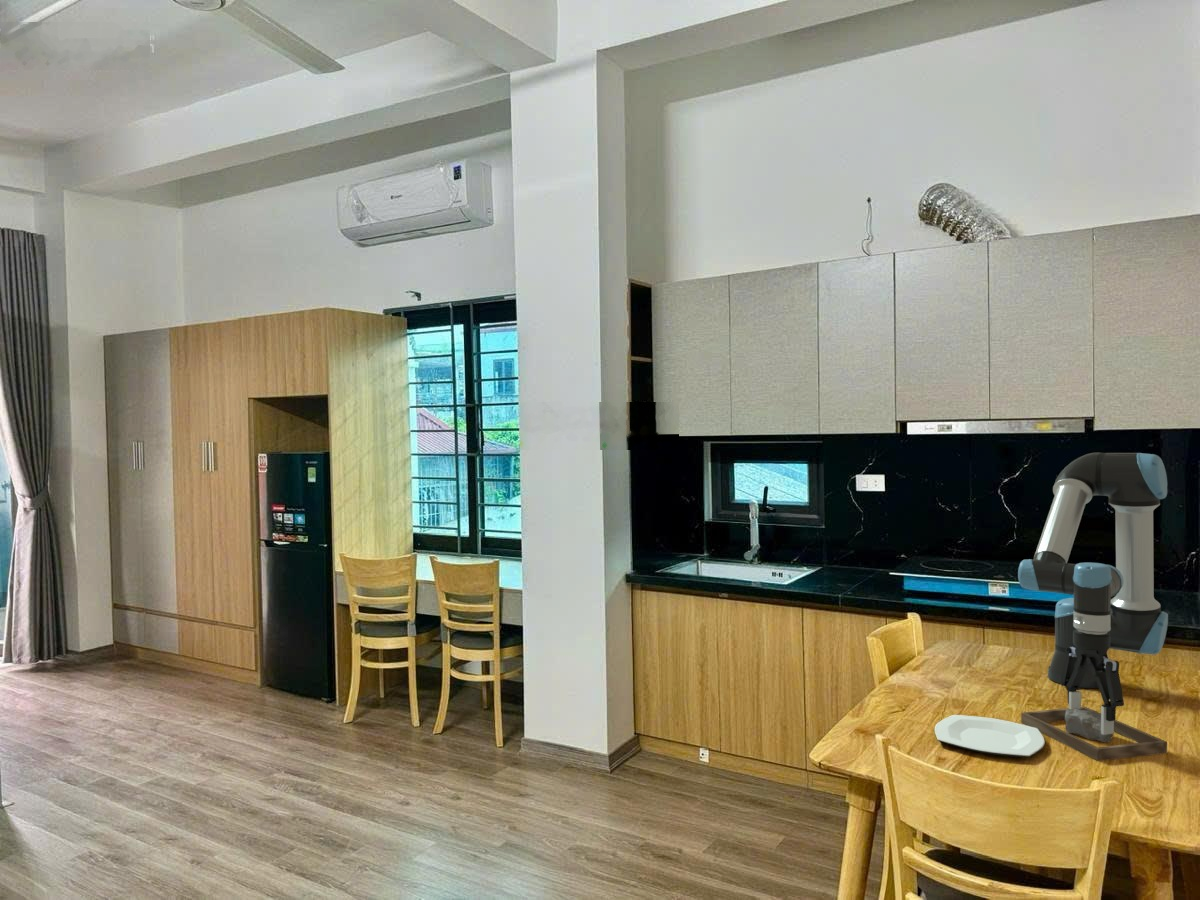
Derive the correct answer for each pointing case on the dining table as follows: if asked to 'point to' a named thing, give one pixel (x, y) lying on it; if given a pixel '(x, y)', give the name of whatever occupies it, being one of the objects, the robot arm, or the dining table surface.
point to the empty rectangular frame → (1144, 747)
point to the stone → (1085, 724)
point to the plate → (989, 735)
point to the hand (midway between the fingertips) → (1090, 726)
